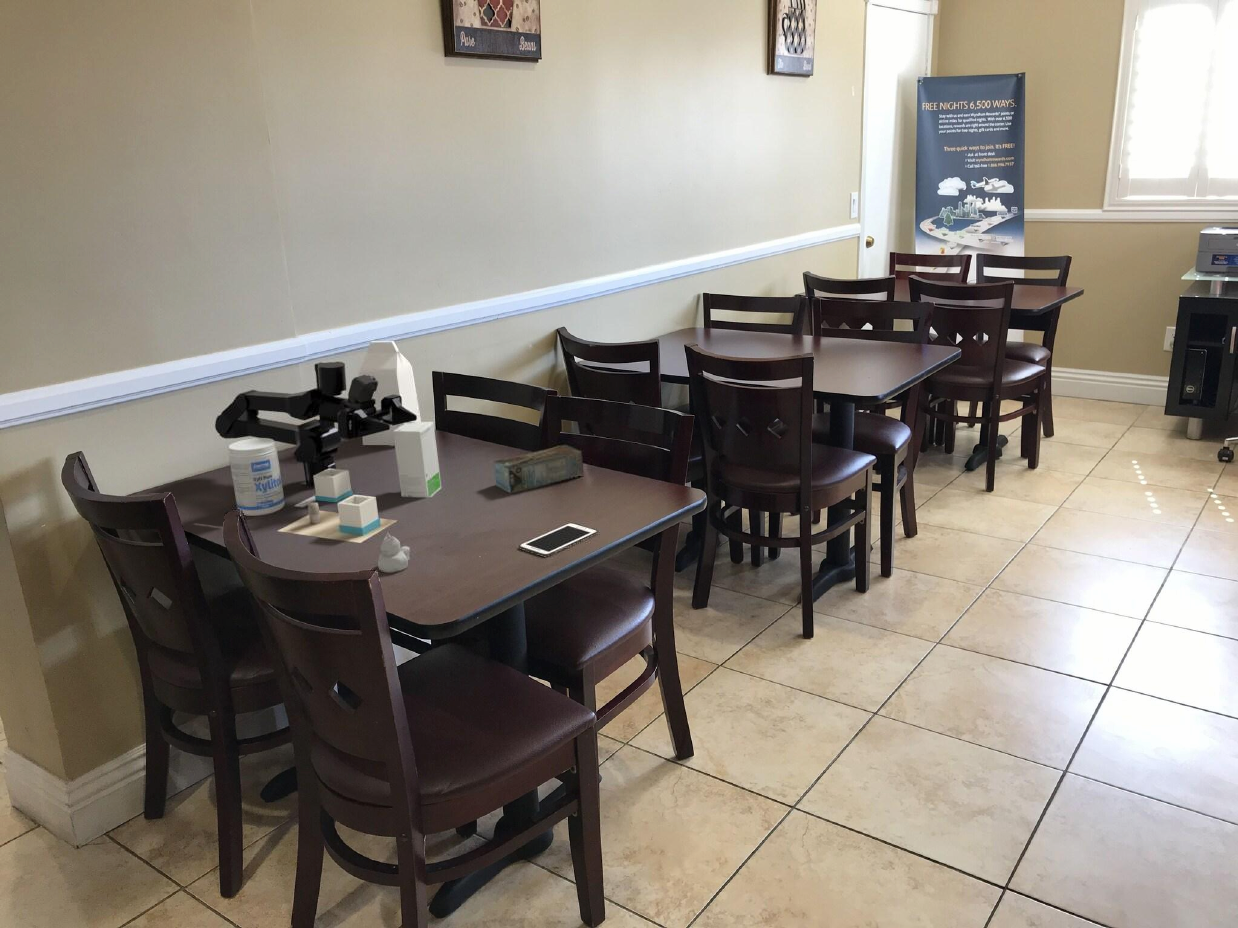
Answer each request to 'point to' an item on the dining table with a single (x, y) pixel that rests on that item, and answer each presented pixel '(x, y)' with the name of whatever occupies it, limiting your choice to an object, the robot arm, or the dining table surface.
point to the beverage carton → (538, 468)
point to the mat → (306, 502)
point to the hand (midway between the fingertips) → (403, 422)
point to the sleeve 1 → (332, 485)
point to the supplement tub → (256, 476)
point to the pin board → (328, 526)
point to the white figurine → (393, 555)
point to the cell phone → (558, 539)
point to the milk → (389, 384)
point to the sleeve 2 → (358, 515)
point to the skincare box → (417, 459)
